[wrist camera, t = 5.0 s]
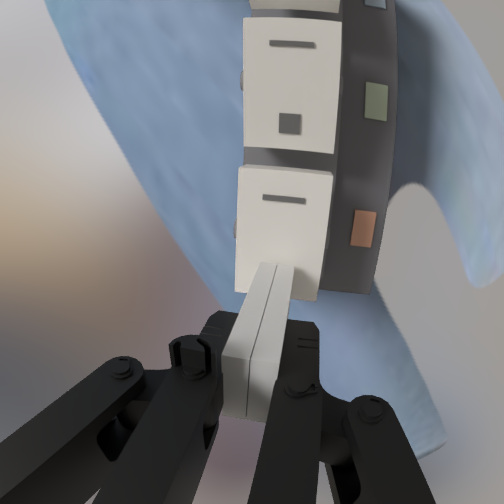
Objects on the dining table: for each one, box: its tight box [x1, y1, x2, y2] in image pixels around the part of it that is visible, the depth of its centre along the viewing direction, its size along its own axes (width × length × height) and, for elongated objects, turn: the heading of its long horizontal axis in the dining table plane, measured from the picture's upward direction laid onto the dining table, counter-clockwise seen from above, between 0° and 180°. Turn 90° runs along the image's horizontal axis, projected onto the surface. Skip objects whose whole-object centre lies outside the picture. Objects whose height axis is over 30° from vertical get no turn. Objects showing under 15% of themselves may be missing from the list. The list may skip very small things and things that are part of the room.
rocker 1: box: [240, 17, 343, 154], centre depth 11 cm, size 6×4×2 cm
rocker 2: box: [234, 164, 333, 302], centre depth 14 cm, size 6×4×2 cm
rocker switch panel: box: [243, 0, 398, 295], centre depth 15 cm, size 22×8×6 cm, turn 177°
